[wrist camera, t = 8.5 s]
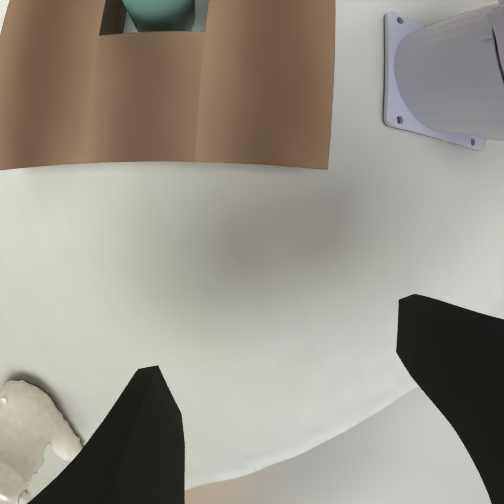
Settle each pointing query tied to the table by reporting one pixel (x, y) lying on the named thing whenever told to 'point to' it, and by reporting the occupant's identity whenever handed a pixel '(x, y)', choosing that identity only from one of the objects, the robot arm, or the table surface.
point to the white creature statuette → (29, 438)
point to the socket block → (167, 85)
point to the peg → (161, 14)
